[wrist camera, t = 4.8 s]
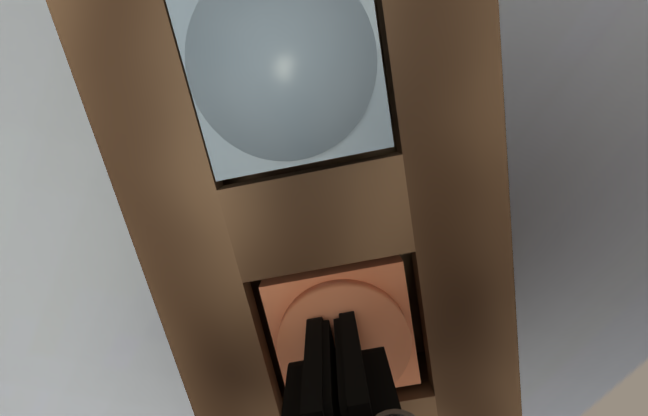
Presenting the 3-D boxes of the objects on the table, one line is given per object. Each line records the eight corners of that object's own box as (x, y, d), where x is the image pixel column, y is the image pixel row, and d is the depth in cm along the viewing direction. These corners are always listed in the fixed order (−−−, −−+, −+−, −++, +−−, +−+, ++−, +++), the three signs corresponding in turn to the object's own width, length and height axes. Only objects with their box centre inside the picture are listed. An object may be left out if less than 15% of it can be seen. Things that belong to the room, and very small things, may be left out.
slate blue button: (354, -24, 11) (367, -80, 8) (379, 140, 12) (399, 148, 9) (196, 11, 11) (147, -30, 8) (237, 168, 12) (208, 185, 9)
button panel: (402, -442, 10) (452, -795, 6) (476, 348, 17) (521, 417, 13) (11, -336, 11) (-169, -598, 7) (237, 388, 17) (213, 466, 14)
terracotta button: (389, 236, 14) (407, 269, 11) (405, 341, 15) (425, 396, 12) (269, 258, 14) (255, 296, 11) (295, 359, 16) (288, 418, 13)
